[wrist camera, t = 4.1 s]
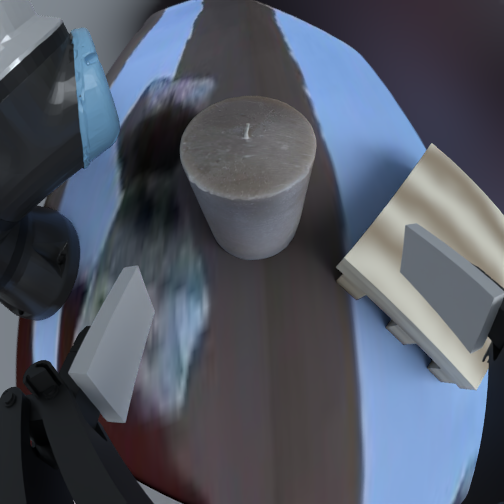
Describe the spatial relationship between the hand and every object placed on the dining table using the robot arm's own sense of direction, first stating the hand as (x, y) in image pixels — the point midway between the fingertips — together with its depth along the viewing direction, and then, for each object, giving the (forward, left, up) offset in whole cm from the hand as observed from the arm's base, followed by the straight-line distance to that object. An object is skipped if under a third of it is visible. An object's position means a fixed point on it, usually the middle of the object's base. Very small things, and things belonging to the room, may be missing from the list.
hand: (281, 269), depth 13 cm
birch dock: (+17, -12, -16) cm, 26 cm away
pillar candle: (+6, +8, -16) cm, 19 cm away
